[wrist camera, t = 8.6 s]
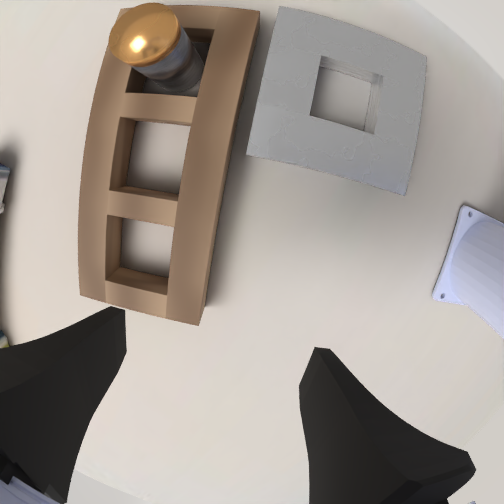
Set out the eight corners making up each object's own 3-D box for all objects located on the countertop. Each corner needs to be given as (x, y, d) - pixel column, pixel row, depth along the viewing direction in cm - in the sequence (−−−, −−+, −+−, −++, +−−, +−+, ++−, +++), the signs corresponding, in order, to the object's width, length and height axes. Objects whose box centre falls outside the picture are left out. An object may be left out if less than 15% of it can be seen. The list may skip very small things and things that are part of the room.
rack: (259, 27, 14) (259, 11, 12) (204, 307, 21) (198, 325, 18) (134, 22, 14) (120, 8, 12) (95, 281, 20) (80, 295, 18)
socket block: (413, 63, 15) (426, 57, 13) (391, 191, 18) (405, 195, 16) (277, 19, 14) (279, 5, 12) (246, 154, 17) (245, 154, 15)
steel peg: (208, 51, 15) (183, 1, 8) (197, 94, 16) (165, 61, 9) (162, 48, 15) (120, 5, 8) (151, 90, 16) (100, 62, 9)
